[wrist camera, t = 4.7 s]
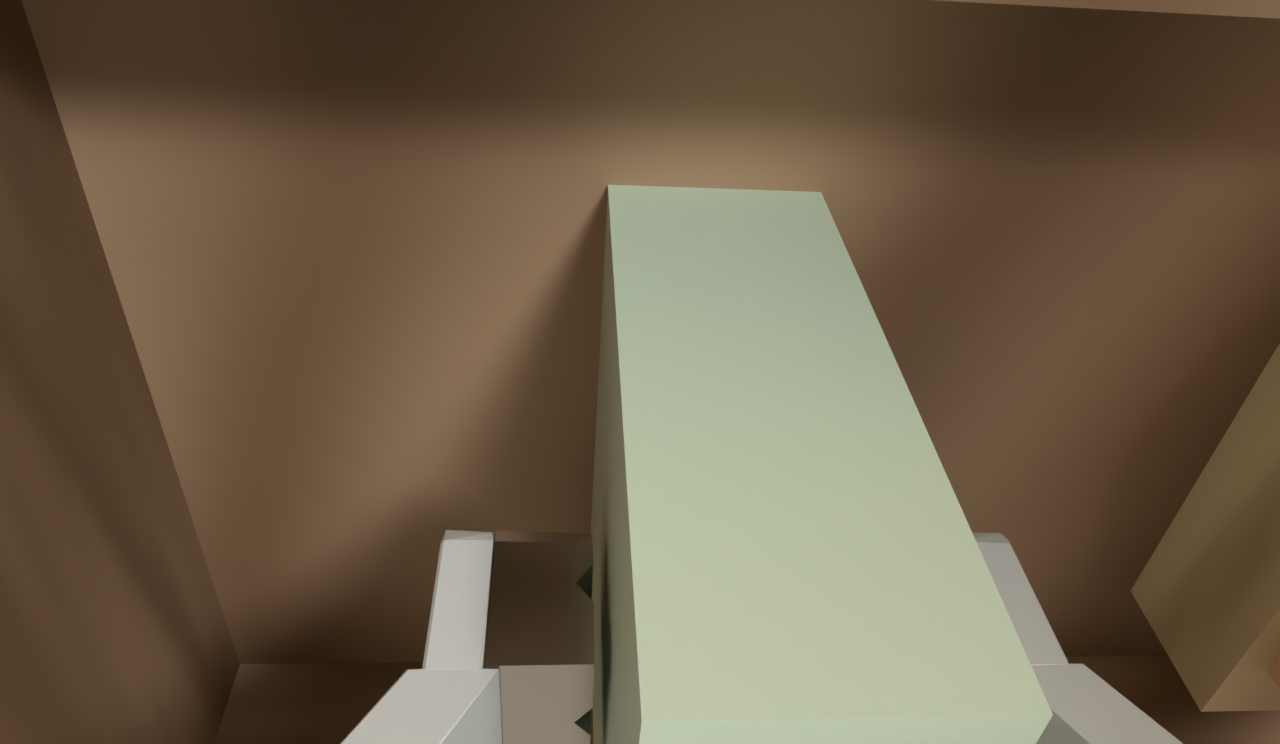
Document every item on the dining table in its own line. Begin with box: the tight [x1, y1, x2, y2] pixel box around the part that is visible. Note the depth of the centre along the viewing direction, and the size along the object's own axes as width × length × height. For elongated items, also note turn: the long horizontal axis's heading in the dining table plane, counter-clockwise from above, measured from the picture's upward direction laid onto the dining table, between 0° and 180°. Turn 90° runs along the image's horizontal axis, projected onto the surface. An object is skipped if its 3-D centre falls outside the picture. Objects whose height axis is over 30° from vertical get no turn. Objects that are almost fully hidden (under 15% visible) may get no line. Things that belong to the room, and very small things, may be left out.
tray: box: [0, 0, 1280, 744], centre depth 11 cm, size 21×14×5 cm, turn 86°
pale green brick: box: [591, 185, 1053, 744], centre depth 10 cm, size 2×6×6 cm, turn 176°
